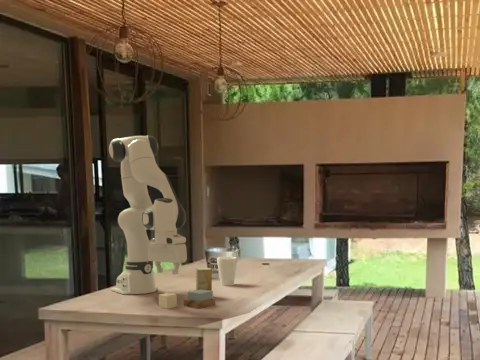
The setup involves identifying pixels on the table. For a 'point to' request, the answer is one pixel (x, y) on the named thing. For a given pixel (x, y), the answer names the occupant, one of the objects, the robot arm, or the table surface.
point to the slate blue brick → (200, 295)
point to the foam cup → (227, 270)
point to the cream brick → (167, 300)
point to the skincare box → (204, 279)
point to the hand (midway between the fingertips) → (167, 273)
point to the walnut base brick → (199, 303)
